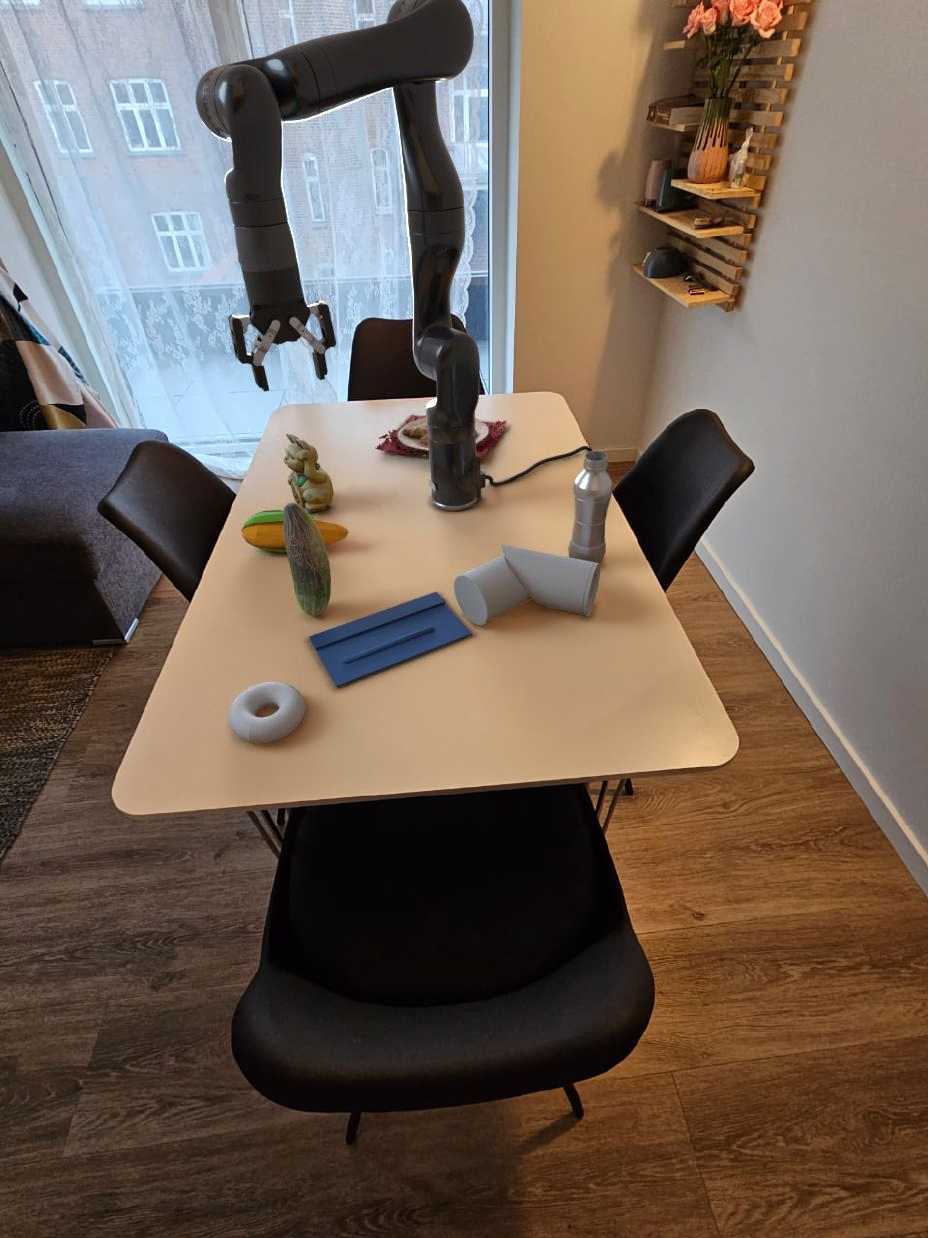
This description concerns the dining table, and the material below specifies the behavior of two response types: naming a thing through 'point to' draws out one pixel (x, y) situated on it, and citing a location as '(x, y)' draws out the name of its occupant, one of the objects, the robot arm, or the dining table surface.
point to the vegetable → (307, 560)
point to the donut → (270, 726)
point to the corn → (269, 531)
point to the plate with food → (416, 437)
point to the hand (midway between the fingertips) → (293, 383)
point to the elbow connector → (527, 584)
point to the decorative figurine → (307, 476)
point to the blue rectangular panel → (387, 638)
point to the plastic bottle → (591, 509)
